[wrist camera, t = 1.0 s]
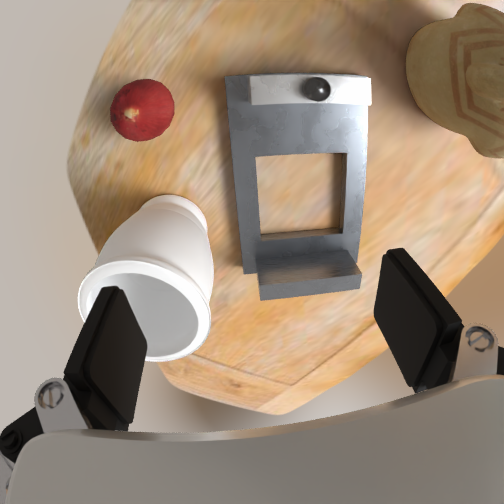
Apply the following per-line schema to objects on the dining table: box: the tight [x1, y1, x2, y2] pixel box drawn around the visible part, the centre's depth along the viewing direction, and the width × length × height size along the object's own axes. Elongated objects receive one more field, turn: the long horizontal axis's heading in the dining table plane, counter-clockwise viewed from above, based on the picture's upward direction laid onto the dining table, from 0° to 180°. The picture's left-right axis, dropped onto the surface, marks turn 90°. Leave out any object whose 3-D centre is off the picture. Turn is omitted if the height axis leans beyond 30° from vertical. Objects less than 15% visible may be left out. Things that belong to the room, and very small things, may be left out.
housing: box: [225, 73, 368, 301], centre depth 29 cm, size 22×14×6 cm, turn 4°
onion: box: [110, 79, 174, 142], centre depth 23 cm, size 6×6×8 cm
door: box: [247, 75, 371, 105], centre depth 23 cm, size 2×10×6 cm, turn 94°
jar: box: [78, 195, 214, 362], centre depth 27 cm, size 11×10×15 cm
